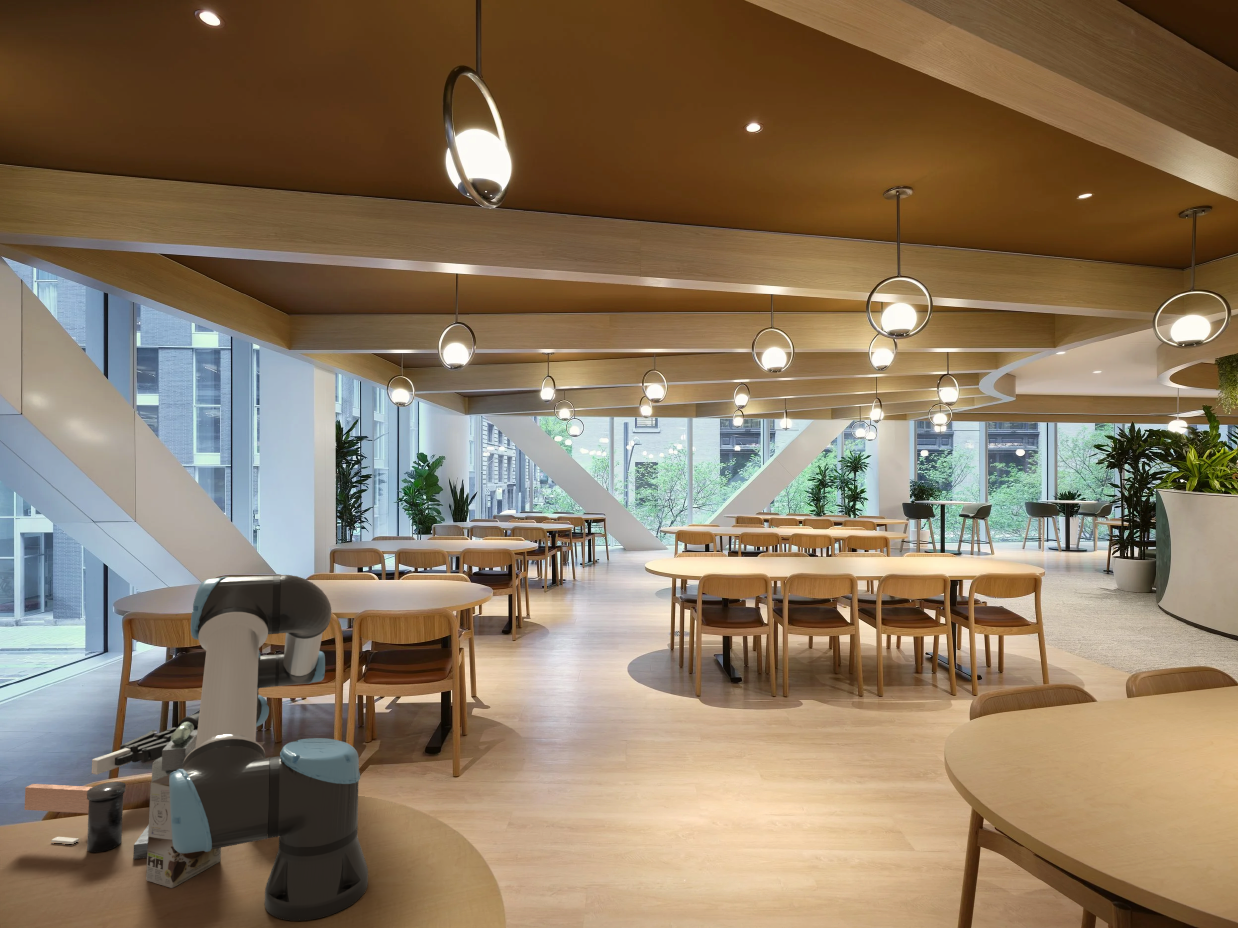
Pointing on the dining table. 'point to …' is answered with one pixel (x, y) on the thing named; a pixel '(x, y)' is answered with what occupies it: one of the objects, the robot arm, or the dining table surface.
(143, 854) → the level instrument
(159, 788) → the coffee box
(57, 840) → the index mark
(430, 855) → the dining table surface
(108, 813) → the wooden-handled mallet
